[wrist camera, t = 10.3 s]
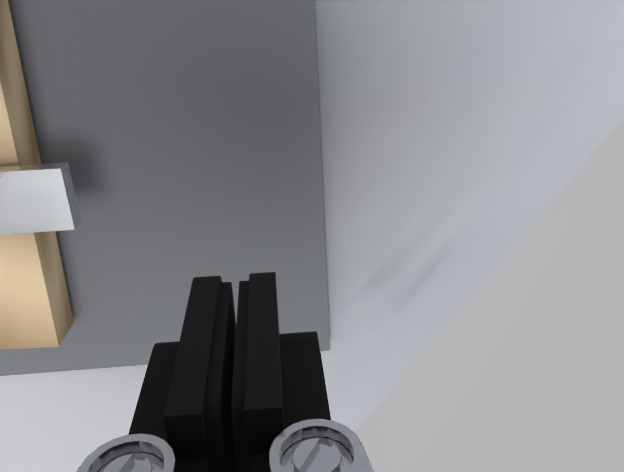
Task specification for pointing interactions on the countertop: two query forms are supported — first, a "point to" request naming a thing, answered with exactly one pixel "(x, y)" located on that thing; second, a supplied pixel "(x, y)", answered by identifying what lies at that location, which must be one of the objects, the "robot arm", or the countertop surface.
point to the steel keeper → (37, 199)
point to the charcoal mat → (175, 163)
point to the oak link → (26, 246)
